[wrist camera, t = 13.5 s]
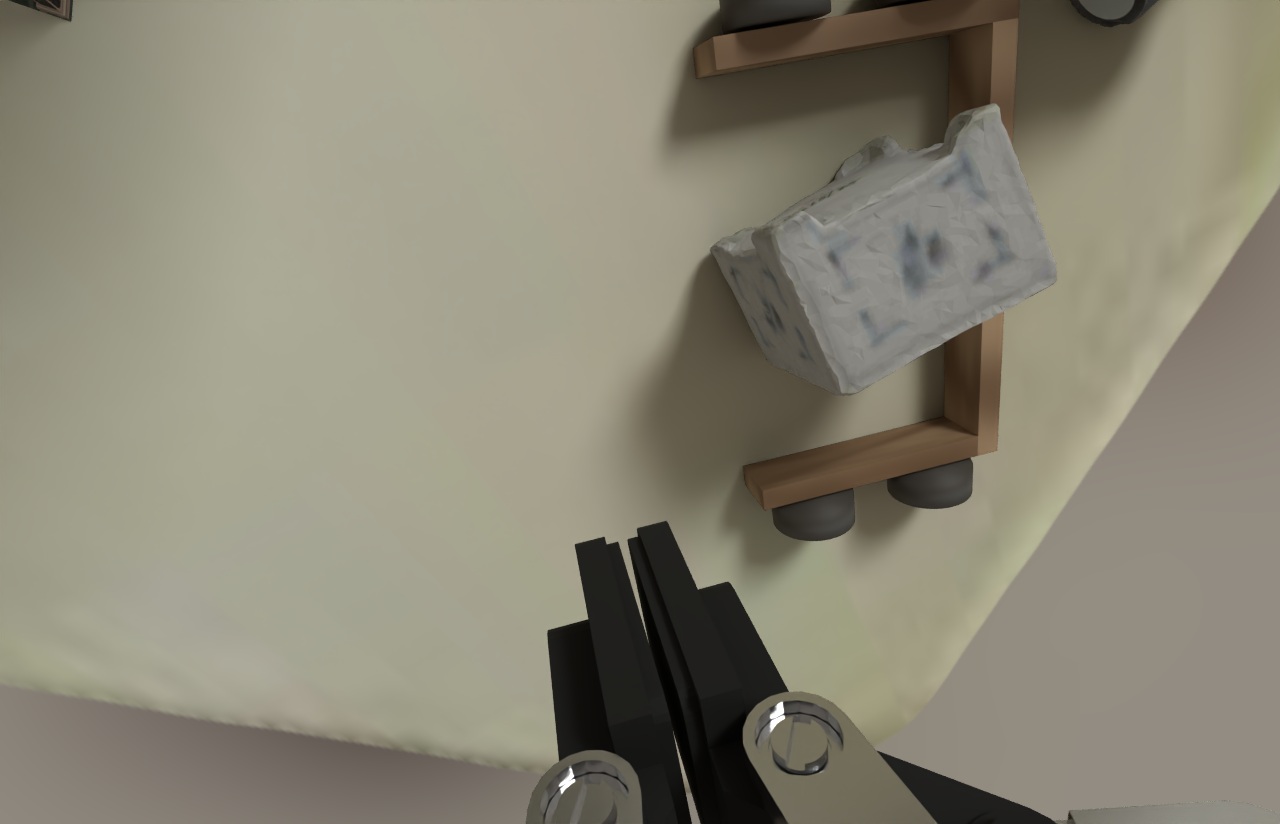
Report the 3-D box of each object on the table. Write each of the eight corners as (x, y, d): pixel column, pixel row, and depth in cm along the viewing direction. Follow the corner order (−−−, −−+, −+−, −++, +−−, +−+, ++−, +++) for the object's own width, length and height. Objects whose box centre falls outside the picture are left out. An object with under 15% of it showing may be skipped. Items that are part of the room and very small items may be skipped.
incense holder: (869, 114, 31) (1029, 93, 22) (917, 268, 35) (1074, 308, 25) (690, 214, 31) (772, 236, 22) (756, 358, 35) (852, 432, 25)
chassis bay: (687, 1, 28) (718, -25, 24) (974, -45, 30) (1048, -77, 26) (748, 511, 38) (777, 552, 34) (961, 456, 40) (1013, 490, 36)
